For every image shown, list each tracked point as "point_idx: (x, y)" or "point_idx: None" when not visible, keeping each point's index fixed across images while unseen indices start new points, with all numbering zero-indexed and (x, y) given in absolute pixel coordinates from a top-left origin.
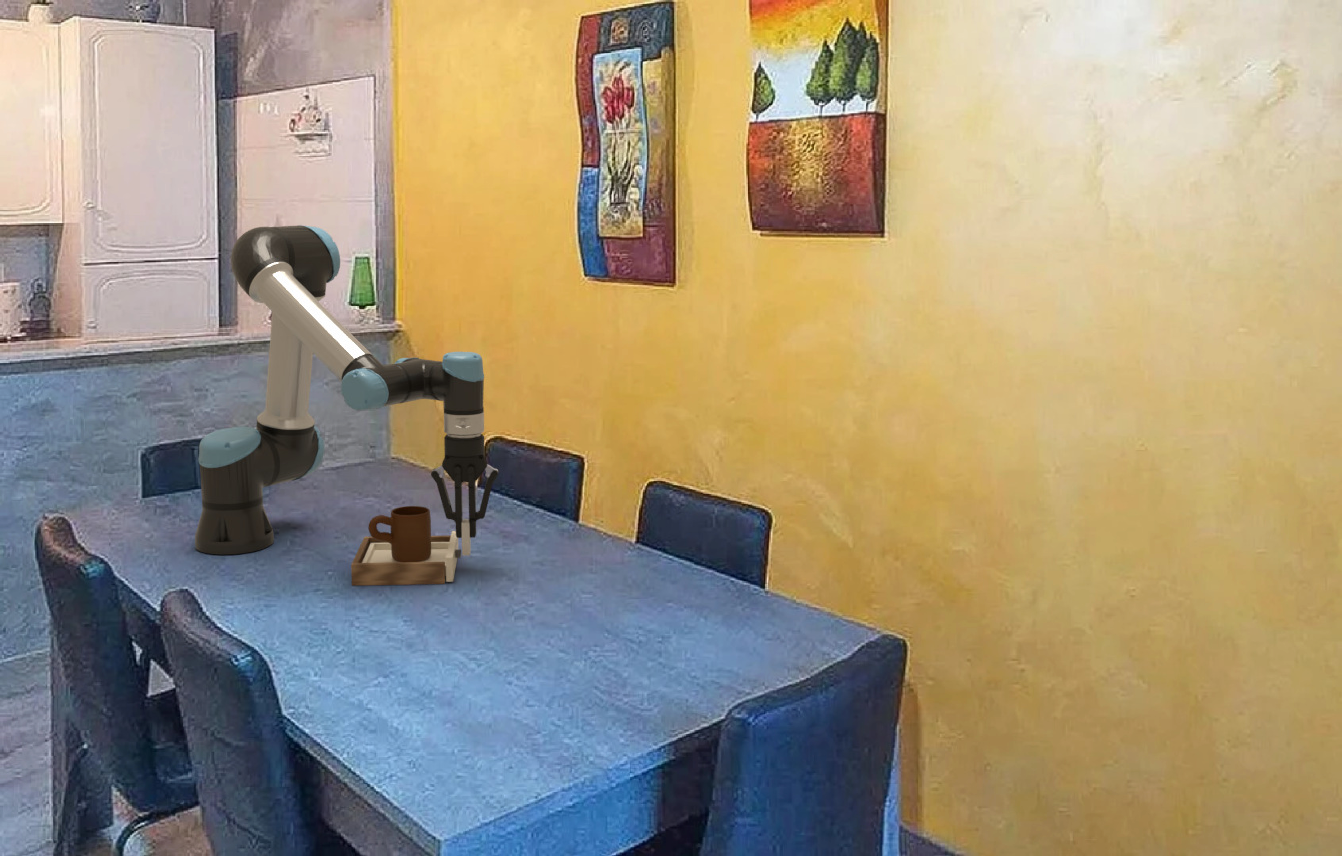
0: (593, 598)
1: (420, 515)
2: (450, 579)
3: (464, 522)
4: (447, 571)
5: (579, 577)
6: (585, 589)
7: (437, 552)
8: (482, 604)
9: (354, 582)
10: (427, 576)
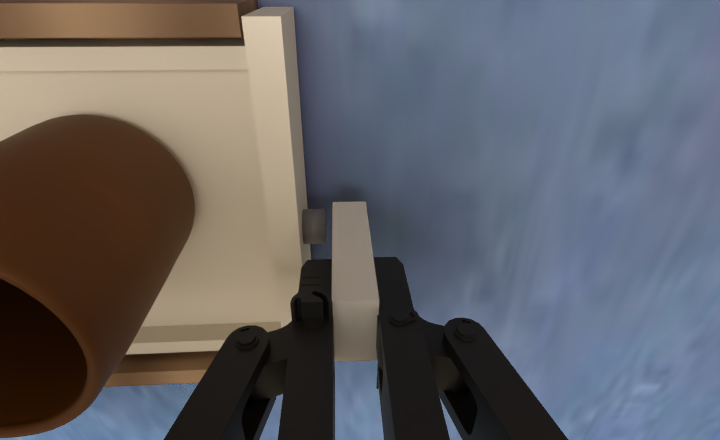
0: (652, 401)
1: (76, 416)
2: None
3: (349, 354)
4: None
5: (690, 281)
6: (661, 357)
7: (207, 124)
8: None
9: None
10: None
